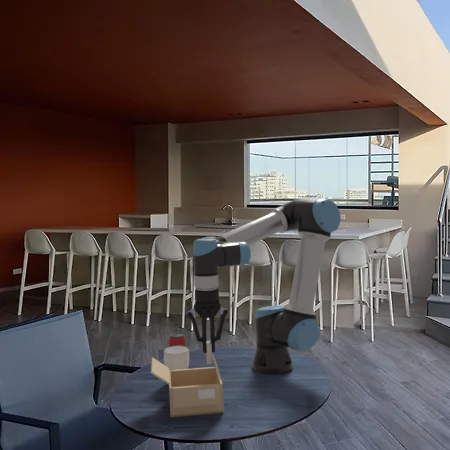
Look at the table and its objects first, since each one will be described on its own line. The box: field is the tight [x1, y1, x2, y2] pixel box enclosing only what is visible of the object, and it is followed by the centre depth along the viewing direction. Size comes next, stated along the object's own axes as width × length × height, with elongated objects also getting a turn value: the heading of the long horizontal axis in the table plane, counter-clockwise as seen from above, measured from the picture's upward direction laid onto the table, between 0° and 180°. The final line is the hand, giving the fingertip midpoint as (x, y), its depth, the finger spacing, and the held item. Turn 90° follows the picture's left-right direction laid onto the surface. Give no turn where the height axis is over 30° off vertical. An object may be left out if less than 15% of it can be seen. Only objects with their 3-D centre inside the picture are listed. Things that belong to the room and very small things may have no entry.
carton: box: [168, 366, 225, 419], centre depth 160 cm, size 16×16×9 cm
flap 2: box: [211, 352, 222, 380], centre depth 160 cm, size 1×14×6 cm, turn 7°
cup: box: [163, 346, 190, 371], centre depth 179 cm, size 9×9×12 cm
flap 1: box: [150, 357, 170, 385], centre depth 158 cm, size 1×14×6 cm
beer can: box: [168, 332, 187, 347], centre depth 198 cm, size 7×7×12 cm
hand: (209, 362), depth 160 cm, fingers closed
